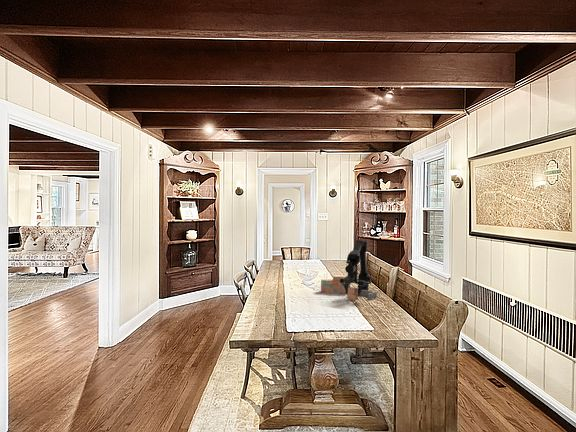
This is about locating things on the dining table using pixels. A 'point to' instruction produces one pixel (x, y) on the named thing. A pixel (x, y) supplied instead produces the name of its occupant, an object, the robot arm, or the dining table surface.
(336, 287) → the stack of blocks
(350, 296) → the terracotta block
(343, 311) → the dining table surface
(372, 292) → the open-fronted box
